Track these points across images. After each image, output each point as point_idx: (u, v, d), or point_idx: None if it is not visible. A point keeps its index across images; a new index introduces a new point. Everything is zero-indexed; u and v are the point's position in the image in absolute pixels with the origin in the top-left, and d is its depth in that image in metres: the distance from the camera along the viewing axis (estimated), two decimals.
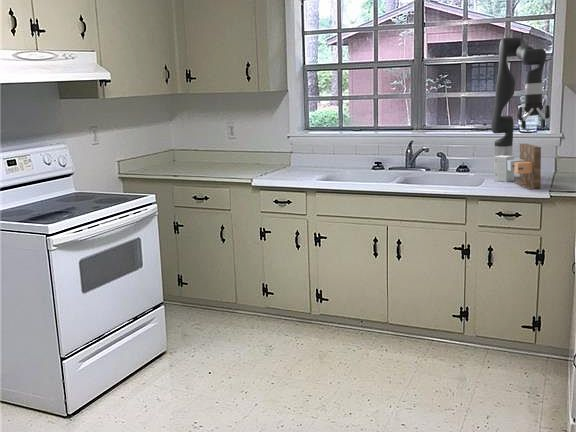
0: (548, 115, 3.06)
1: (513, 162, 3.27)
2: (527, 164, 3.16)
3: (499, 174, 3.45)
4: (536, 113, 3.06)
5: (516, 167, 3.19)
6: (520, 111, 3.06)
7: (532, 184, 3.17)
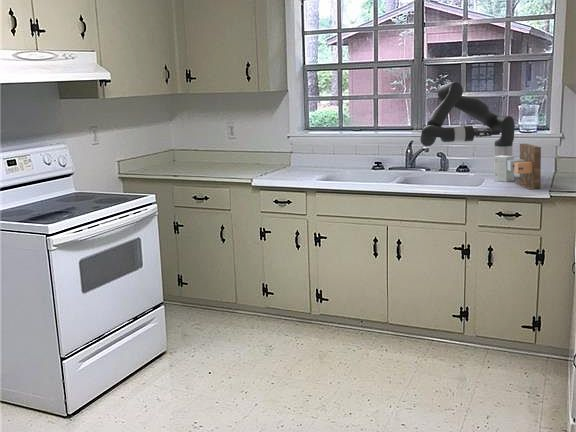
0: (489, 135, 3.10)
1: (513, 162, 3.27)
2: (527, 164, 3.16)
3: (499, 174, 3.45)
4: None
5: (516, 167, 3.19)
6: None
7: (532, 184, 3.17)
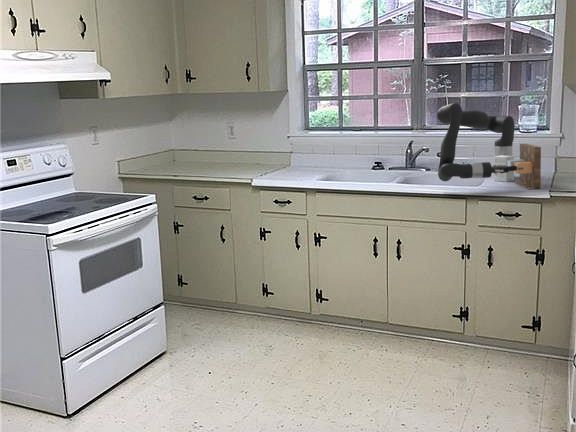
0: None
1: (513, 162, 3.27)
2: (527, 164, 3.16)
3: (499, 174, 3.45)
4: None
5: None
6: None
7: (532, 184, 3.17)
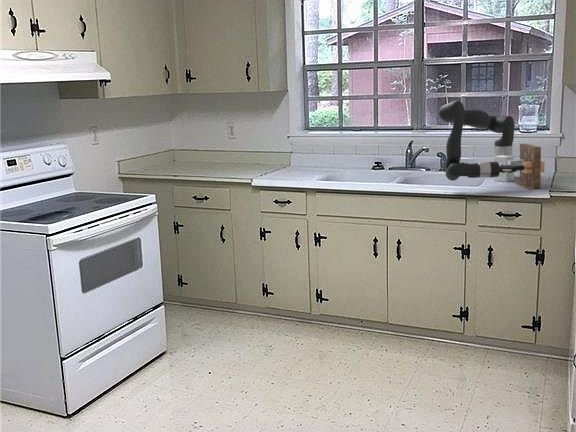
0: (514, 171, 3.16)
1: (513, 162, 3.27)
2: None
3: (499, 174, 3.45)
4: None
5: None
6: None
7: (532, 184, 3.17)
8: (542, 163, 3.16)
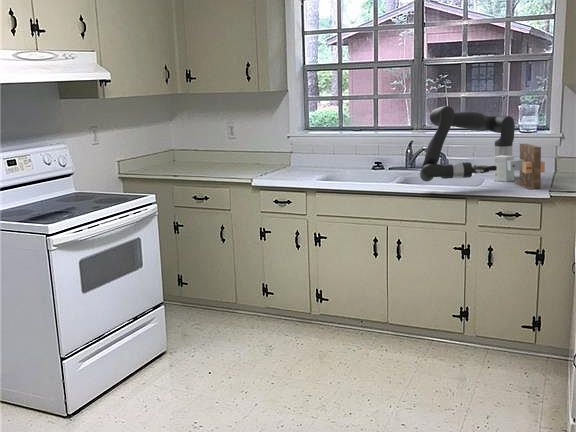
0: None
1: (513, 162, 3.27)
2: None
3: (499, 174, 3.45)
4: None
5: (524, 167, 3.19)
6: None
7: (532, 184, 3.17)
8: (542, 163, 3.16)
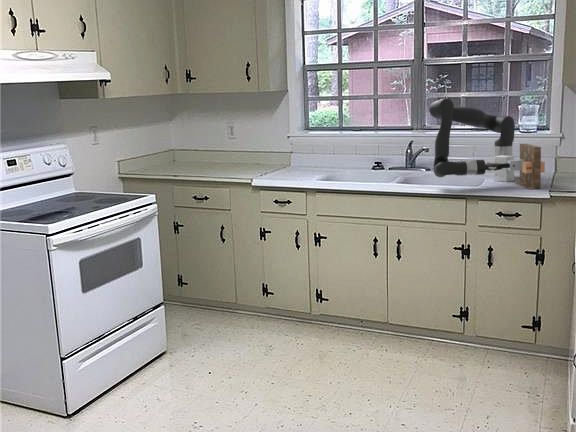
0: None
1: (513, 162, 3.27)
2: None
3: (499, 174, 3.45)
4: None
5: (524, 167, 3.19)
6: None
7: (532, 184, 3.17)
8: (542, 163, 3.16)
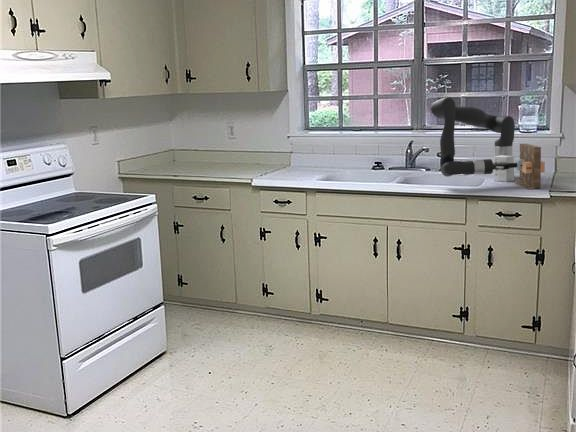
0: (507, 168, 3.27)
1: (521, 162, 3.27)
2: None
3: (499, 174, 3.45)
4: None
5: (524, 167, 3.19)
6: None
7: (532, 184, 3.17)
8: (542, 163, 3.16)
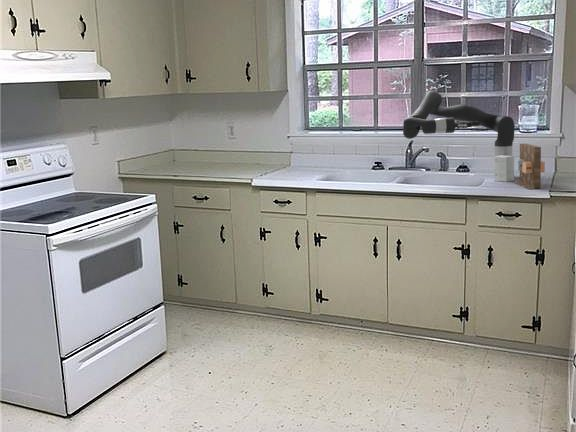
0: None
1: (521, 162, 3.27)
2: None
3: (499, 174, 3.45)
4: None
5: (524, 167, 3.19)
6: None
7: (532, 184, 3.17)
8: (542, 163, 3.16)
